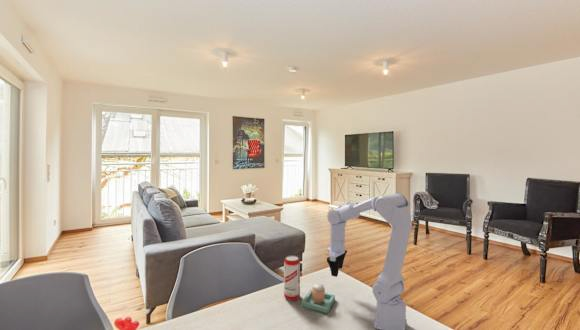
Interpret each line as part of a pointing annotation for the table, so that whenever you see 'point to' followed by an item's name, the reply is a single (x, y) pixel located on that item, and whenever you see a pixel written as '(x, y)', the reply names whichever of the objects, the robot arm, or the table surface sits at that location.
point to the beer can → (291, 278)
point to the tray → (322, 309)
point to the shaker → (318, 294)
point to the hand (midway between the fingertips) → (337, 271)
